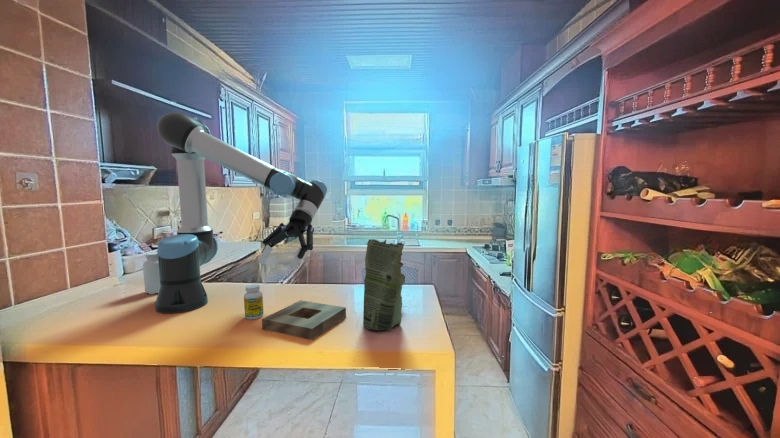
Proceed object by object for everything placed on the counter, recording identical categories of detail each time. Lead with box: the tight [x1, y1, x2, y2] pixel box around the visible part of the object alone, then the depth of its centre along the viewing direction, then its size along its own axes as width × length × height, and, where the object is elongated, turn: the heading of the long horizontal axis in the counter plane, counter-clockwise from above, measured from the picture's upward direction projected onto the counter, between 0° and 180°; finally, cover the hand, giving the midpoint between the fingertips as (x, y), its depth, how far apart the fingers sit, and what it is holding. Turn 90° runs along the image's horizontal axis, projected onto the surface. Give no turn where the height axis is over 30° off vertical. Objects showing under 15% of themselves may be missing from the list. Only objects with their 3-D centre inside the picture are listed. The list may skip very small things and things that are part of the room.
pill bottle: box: [142, 251, 160, 295], centre depth 132 cm, size 8×8×15 cm
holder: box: [261, 299, 347, 341], centre depth 101 cm, size 17×17×3 cm
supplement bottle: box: [243, 283, 264, 320], centre depth 106 cm, size 5×5×10 cm
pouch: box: [362, 238, 406, 332], centre depth 98 cm, size 11×12×25 cm
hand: (276, 264), depth 115 cm, fingers open, 13 cm apart
